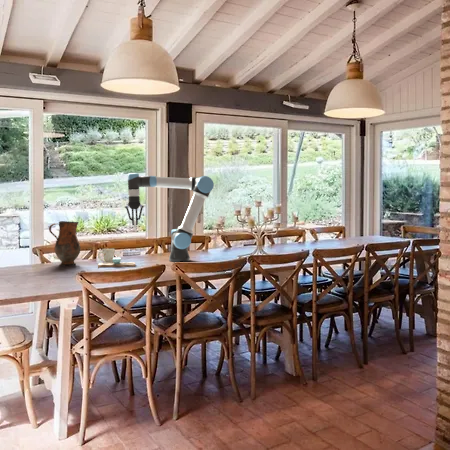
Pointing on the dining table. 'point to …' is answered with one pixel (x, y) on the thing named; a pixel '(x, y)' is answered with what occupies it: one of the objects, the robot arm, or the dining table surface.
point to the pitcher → (67, 243)
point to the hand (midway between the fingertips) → (135, 230)
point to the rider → (116, 260)
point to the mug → (107, 255)
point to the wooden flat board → (116, 265)
